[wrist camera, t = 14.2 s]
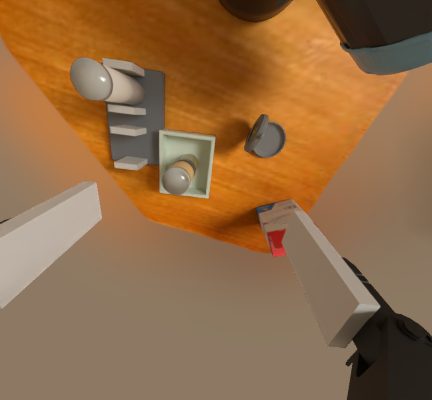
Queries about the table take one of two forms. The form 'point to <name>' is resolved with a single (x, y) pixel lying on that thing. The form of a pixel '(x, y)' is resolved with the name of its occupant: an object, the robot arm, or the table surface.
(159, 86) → the fuse board
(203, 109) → the table surface
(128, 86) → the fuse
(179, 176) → the cylinder
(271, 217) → the ink box
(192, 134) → the parts tray
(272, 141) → the pocket watch
